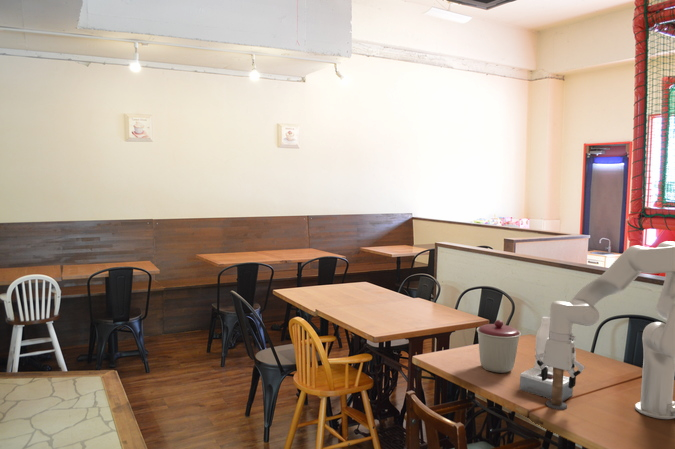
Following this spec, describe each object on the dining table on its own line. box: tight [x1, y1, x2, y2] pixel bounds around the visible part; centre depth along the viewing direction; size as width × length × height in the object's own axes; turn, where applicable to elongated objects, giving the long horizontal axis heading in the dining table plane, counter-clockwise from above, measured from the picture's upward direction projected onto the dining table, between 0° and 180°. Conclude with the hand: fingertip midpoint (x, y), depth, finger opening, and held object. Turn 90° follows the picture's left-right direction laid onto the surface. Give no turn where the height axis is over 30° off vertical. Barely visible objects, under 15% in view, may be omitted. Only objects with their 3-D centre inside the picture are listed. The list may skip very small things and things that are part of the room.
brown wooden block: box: [550, 368, 565, 406], centre depth 193 cm, size 3×3×14 cm
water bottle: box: [533, 316, 553, 373], centre depth 220 cm, size 7×7×25 cm
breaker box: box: [519, 367, 574, 402], centre depth 205 cm, size 16×10×6 cm, turn 45°
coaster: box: [545, 399, 568, 411], centre depth 193 cm, size 7×7×1 cm
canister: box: [476, 319, 522, 374], centre depth 230 cm, size 18×18×21 cm
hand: (557, 383), depth 193 cm, fingers open, 9 cm apart
